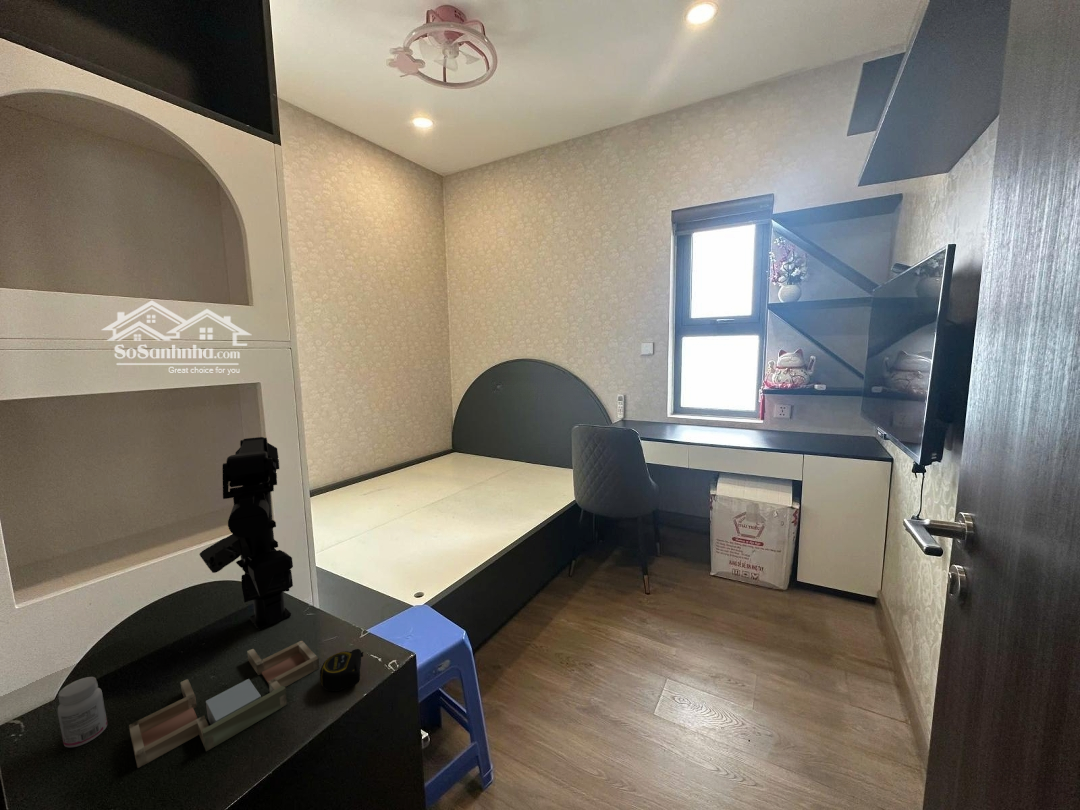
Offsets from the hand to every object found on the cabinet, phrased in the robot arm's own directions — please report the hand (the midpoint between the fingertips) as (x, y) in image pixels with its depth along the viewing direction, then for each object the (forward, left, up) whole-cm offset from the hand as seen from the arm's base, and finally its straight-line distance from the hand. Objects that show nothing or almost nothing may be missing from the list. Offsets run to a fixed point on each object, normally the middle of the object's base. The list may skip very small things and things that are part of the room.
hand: (262, 594), depth 83 cm
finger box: (+9, -8, -12) cm, 17 cm away
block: (+13, -9, -12) cm, 20 cm away
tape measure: (+19, +7, -12) cm, 24 cm away
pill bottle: (-1, -25, -12) cm, 28 cm away
